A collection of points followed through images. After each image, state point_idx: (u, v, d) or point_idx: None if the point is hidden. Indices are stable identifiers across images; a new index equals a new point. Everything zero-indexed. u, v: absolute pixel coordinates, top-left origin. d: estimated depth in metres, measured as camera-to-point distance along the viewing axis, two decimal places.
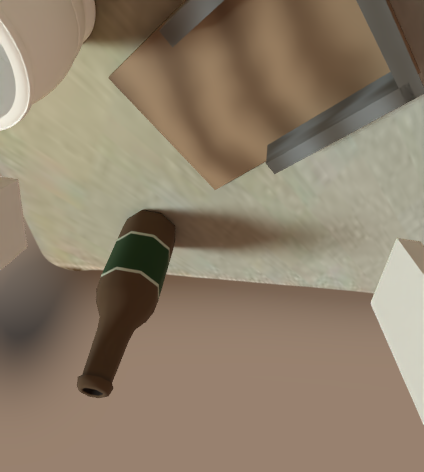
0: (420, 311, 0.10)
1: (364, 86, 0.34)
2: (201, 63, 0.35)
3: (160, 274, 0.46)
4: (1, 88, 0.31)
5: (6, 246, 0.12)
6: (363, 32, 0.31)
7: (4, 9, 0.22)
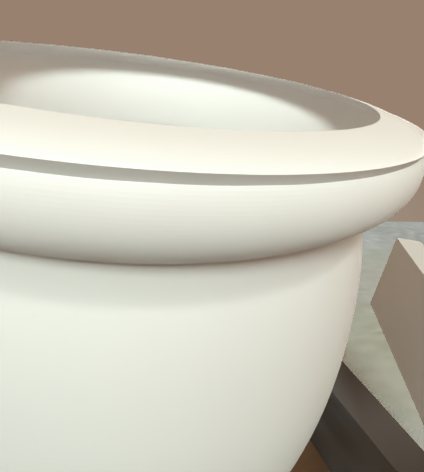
0: (420, 312, 0.10)
1: None
2: None
3: None
4: (309, 438, 0.08)
5: None
6: None
7: (123, 113, 0.12)
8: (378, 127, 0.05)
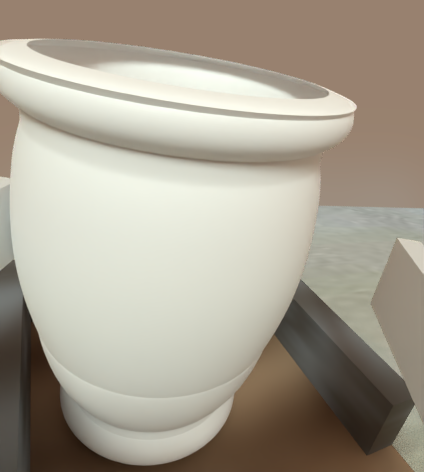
0: (420, 311, 0.10)
1: None
2: None
3: None
4: (288, 300, 0.12)
5: (6, 246, 0.12)
6: None
7: None
8: (325, 99, 0.09)
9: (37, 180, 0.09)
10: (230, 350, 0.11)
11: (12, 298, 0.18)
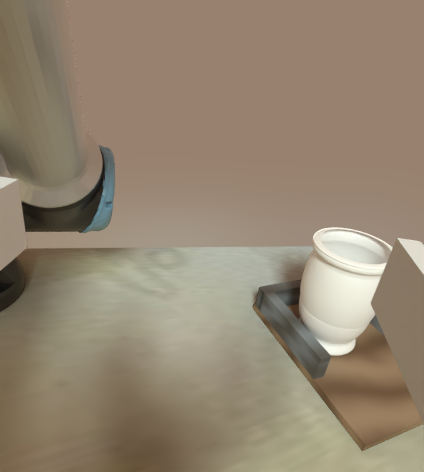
0: (420, 311, 0.10)
1: None
2: (343, 371, 0.47)
3: None
4: None
5: (6, 246, 0.12)
6: None
7: (324, 240, 0.50)
8: None
9: (343, 282, 0.43)
10: None
11: (278, 300, 0.53)
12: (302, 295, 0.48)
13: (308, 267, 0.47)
